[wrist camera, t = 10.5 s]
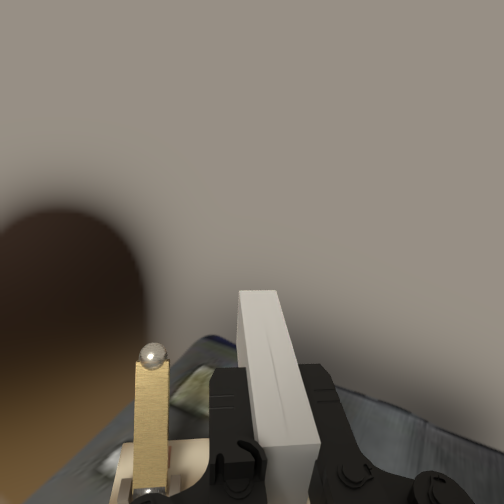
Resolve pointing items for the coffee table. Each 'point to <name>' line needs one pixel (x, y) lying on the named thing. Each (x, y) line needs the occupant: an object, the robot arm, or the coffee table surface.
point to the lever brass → (151, 421)
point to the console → (179, 468)
